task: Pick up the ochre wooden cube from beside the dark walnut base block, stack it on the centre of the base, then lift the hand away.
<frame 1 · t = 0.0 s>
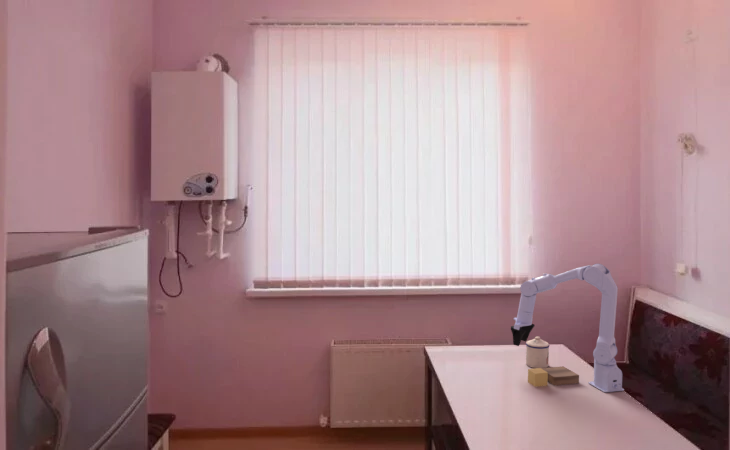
hand: (519, 342, 212), 11 cm above the table, tool pointing down, fingers open, 7 cm apart
walnut base: (558, 379, 200), on the table
ochre block: (537, 384, 196), on the table
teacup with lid: (536, 364, 218), on the table
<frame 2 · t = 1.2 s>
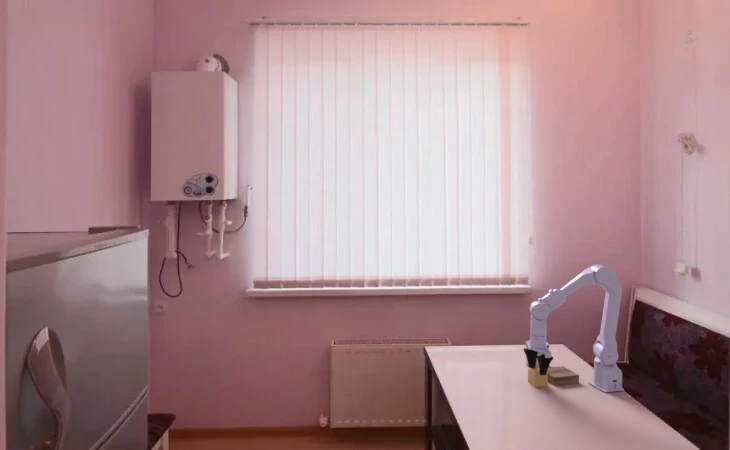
hand: (537, 371, 196), 5 cm above the table, tool pointing down, fingers open, 7 cm apart
nothing on the table moved.
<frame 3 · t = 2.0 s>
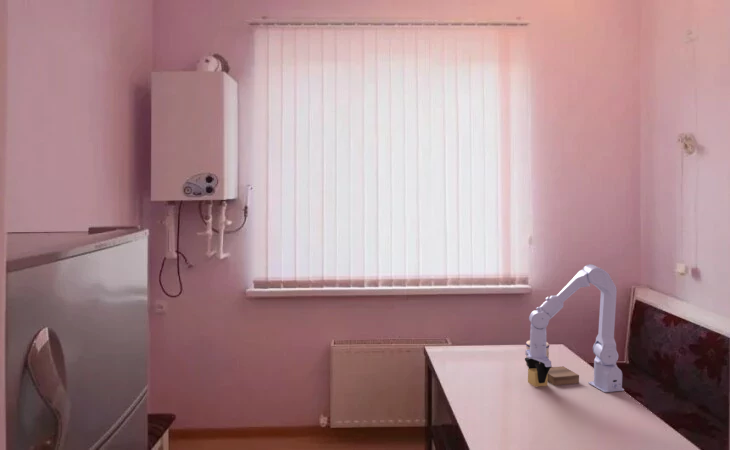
hand: (537, 379, 196), 1 cm above the table, tool pointing down, fingers closed on ochre block, 5 cm apart
ochre block: (537, 383, 196), on the table, touching gripper
everything else where it was.
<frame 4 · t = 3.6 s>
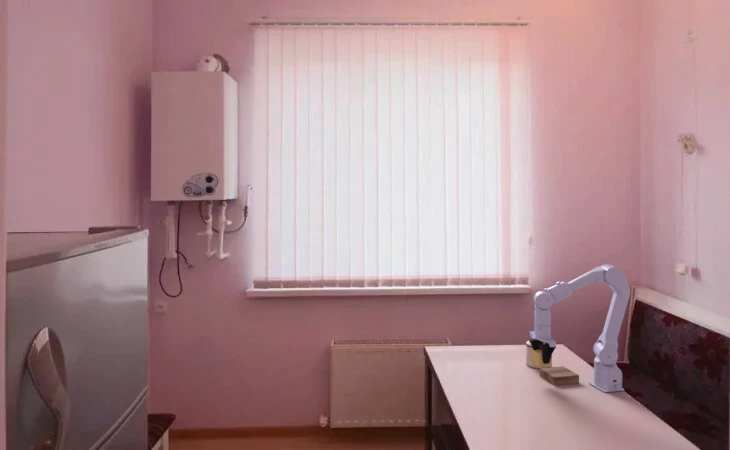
hand: (542, 360, 196), 8 cm above the table, tool pointing down, fingers closed on ochre block, 5 cm apart
ochre block: (541, 365, 197), point 7 cm above the table, touching gripper
everything else where it was.
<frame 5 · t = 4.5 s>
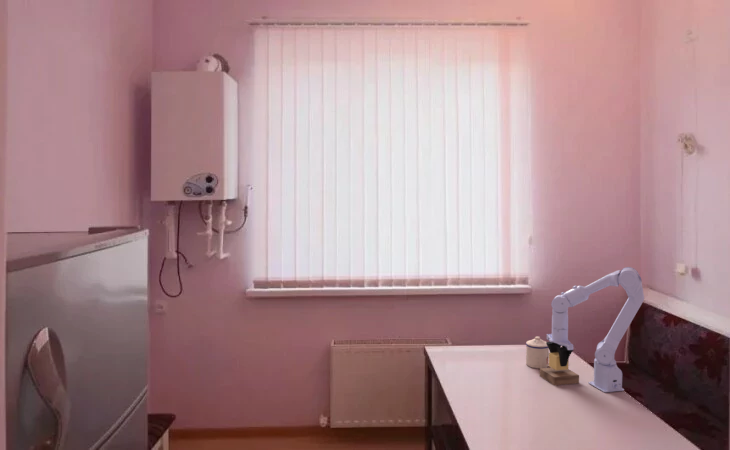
hand: (559, 363, 200), 6 cm above the table, tool pointing down, fingers closed on ochre block, 5 cm apart
ochre block: (558, 367, 200), point 5 cm above the table, touching gripper
everything else where it was.
when the fingers open (5 cm above the table, at t = 5.1 s): ochre block stays where it is, resting on walnut base.
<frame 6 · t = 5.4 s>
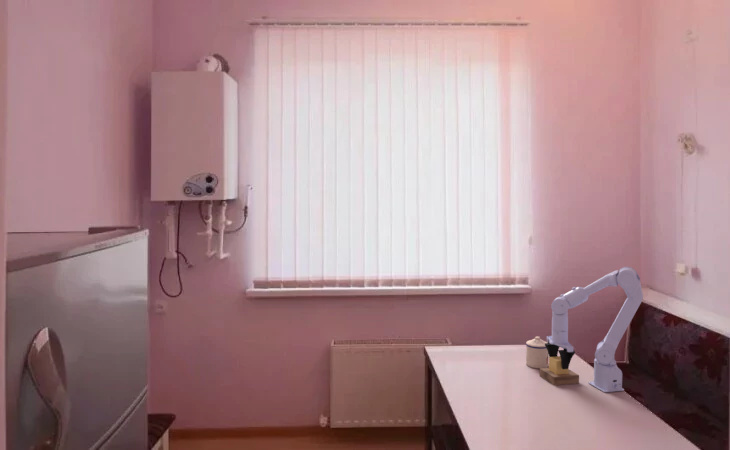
hand: (559, 365, 200), 5 cm above the table, tool pointing down, fingers open, 7 cm apart
ochre block: (558, 371, 200), point 3 cm above the table, touching walnut base
everything else where it was.
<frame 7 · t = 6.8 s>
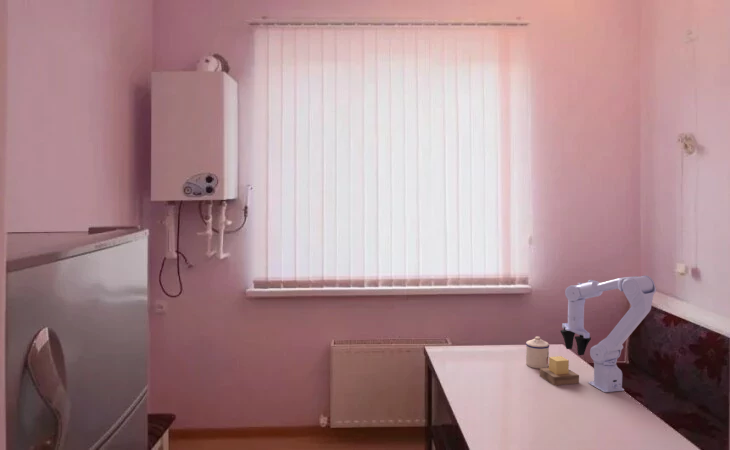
hand: (574, 351, 204), 9 cm above the table, tool pointing down, fingers open, 7 cm apart
nothing on the table moved.
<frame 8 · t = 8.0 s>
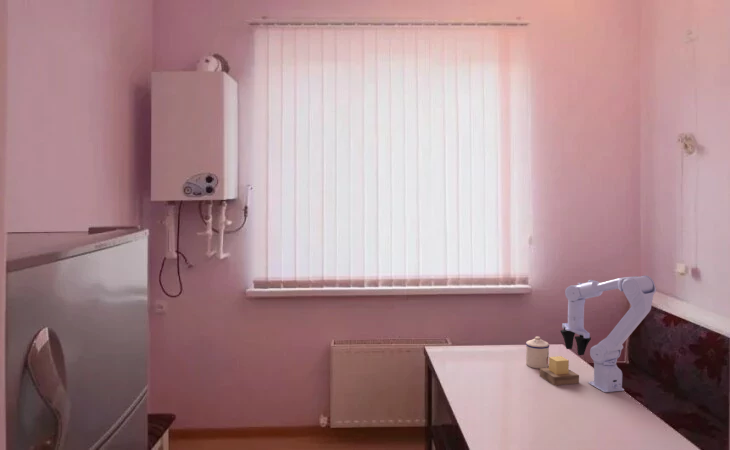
hand: (574, 351, 204), 9 cm above the table, tool pointing down, fingers open, 7 cm apart
nothing on the table moved.
at the end: ochre block 0.2 cm off-centre on the walnut base, point 3.0 cm above the walnut base's base; ochre block tilted 0°; the gripper is holding nothing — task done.
